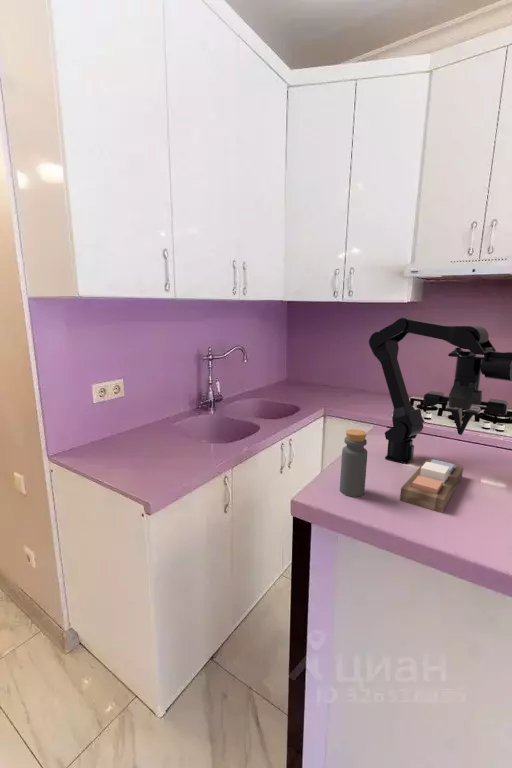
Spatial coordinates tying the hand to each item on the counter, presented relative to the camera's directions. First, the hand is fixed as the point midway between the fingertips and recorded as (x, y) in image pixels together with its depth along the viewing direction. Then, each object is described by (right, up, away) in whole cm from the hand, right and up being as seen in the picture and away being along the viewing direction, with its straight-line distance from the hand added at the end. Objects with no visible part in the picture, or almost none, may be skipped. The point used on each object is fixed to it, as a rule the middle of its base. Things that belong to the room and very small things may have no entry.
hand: (460, 434), depth 99 cm
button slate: (-5, -11, +1) cm, 12 cm away
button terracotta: (-14, -13, -10) cm, 22 cm away
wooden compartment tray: (-9, -13, -5) cm, 17 cm away
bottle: (-30, -13, -8) cm, 34 cm away
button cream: (-9, -11, -5) cm, 15 cm away
